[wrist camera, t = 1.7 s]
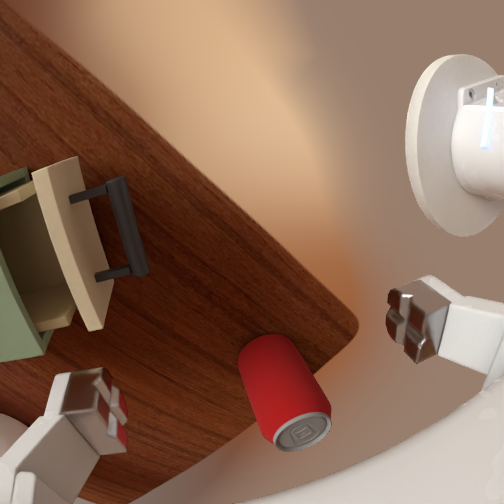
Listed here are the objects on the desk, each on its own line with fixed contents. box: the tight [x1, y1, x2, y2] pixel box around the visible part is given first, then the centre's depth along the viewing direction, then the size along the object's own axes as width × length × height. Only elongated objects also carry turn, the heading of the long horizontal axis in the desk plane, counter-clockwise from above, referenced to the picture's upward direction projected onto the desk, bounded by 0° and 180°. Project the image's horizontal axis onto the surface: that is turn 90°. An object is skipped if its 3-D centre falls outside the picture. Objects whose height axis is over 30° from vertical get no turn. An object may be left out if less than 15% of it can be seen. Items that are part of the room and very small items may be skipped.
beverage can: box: [237, 334, 332, 452], centre depth 30 cm, size 7×7×12 cm
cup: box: [0, 413, 29, 459], centre depth 26 cm, size 12×12×12 cm
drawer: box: [0, 156, 150, 332], centre depth 20 cm, size 18×11×7 cm, turn 99°
